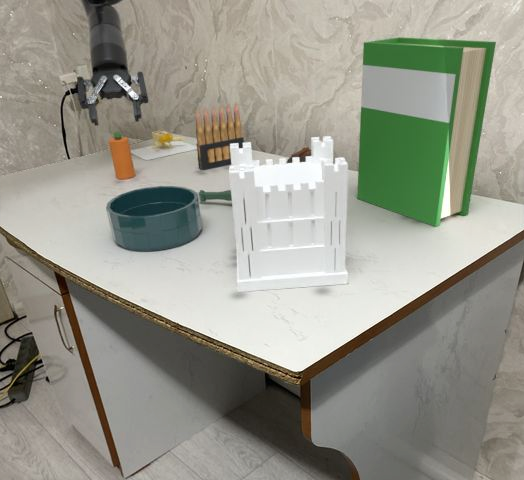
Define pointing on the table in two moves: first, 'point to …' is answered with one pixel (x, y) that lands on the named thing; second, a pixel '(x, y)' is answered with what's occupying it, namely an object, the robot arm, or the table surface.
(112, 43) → the robot arm
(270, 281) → the castle model
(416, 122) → the hardback book
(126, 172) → the carrot toy
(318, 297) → the table surface
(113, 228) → the bowl
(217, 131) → the ammunition clip
